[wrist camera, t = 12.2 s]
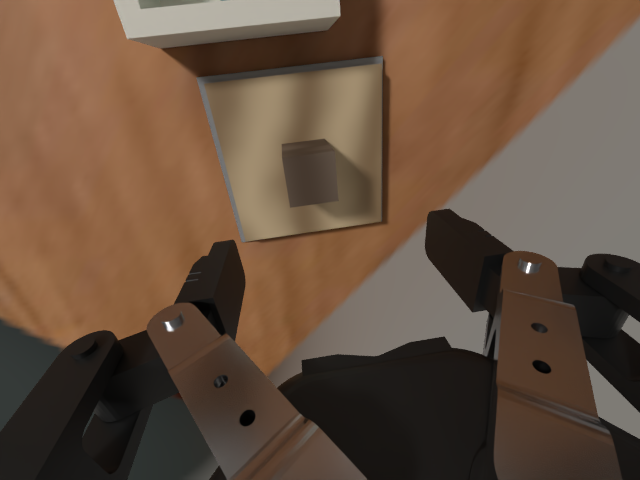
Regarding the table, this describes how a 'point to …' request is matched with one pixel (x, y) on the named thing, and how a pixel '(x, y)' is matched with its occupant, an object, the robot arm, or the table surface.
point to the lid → (302, 149)
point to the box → (221, 19)
